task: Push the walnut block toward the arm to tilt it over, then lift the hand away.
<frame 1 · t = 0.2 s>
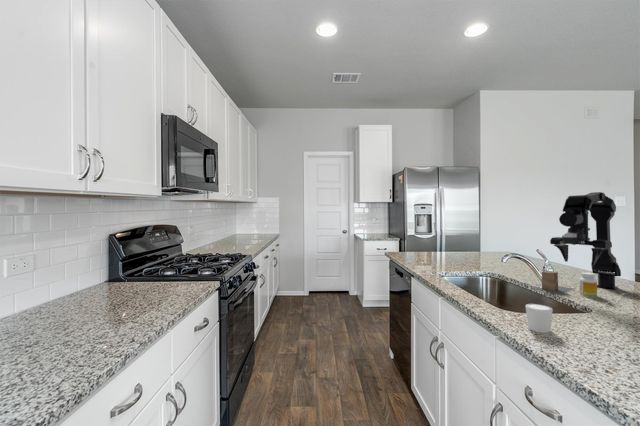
hand: (579, 263, 122), 14 cm above the table, fingers open, 9 cm apart
walnut block: (550, 289, 134), resting on rubber mat
white cup: (539, 329, 92), on the table
rubber mat: (552, 289, 136), on the table
supplement bottle: (588, 297, 124), on the table
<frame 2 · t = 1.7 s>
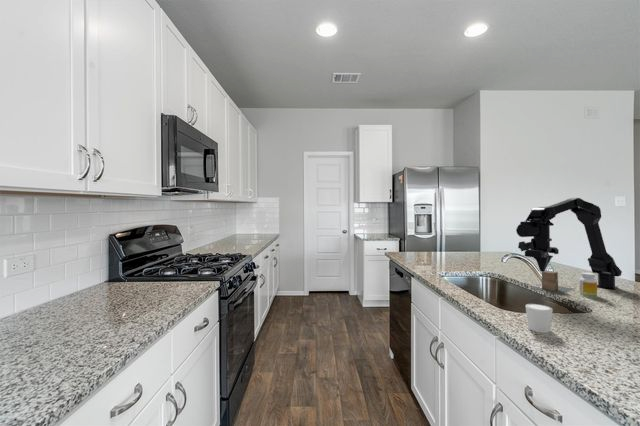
hand: (542, 271, 130), 10 cm above the table, fingers closed
nothing on the table moved.
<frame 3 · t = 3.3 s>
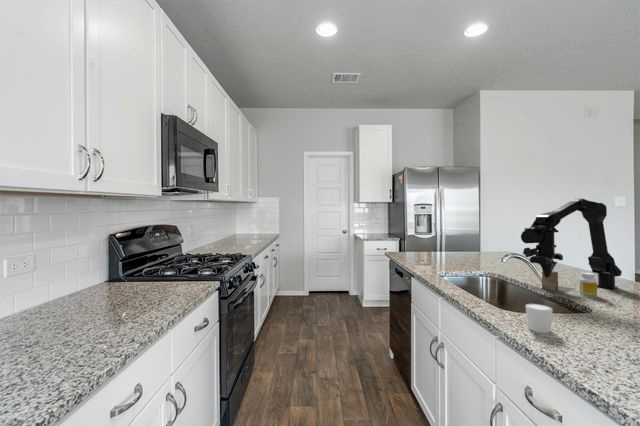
hand: (546, 277, 132), 6 cm above the table, fingers closed
walnut block: (550, 289, 134), resting on rubber mat, touching gripper
everything else where it was.
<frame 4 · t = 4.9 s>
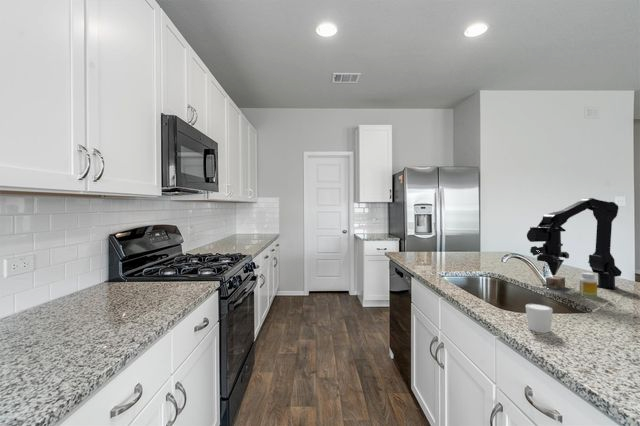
hand: (553, 275, 136), 6 cm above the table, fingers closed
walnut block: (552, 283, 135), point 3 cm above the table, tilted 90°, touching rubber mat
everything else where it was.
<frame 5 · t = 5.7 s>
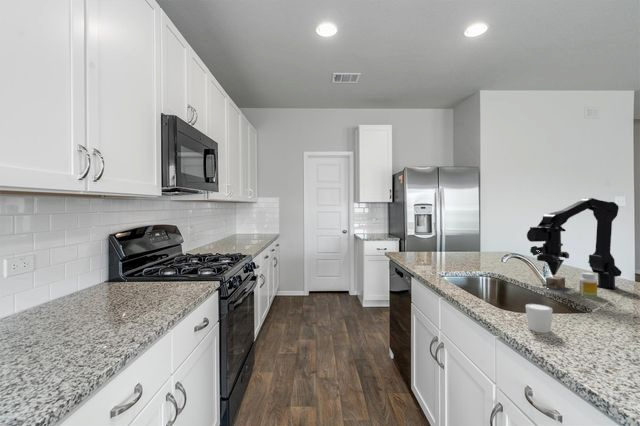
hand: (553, 274, 136), 7 cm above the table, fingers closed
nothing on the table moved.
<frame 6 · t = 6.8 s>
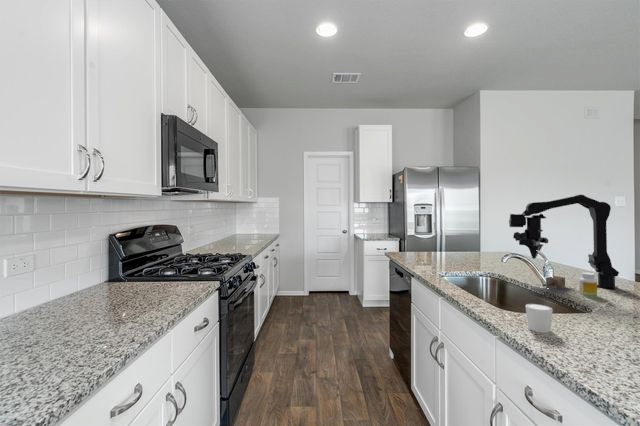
hand: (533, 258, 148), 12 cm above the table, fingers closed
nothing on the table moved.
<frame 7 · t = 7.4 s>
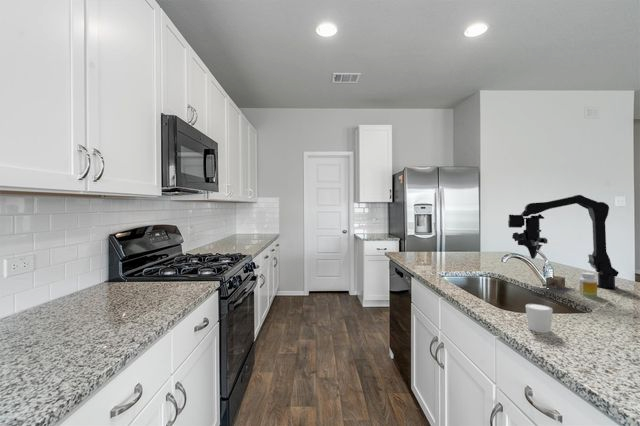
hand: (533, 258, 149), 12 cm above the table, fingers closed
nothing on the table moved.
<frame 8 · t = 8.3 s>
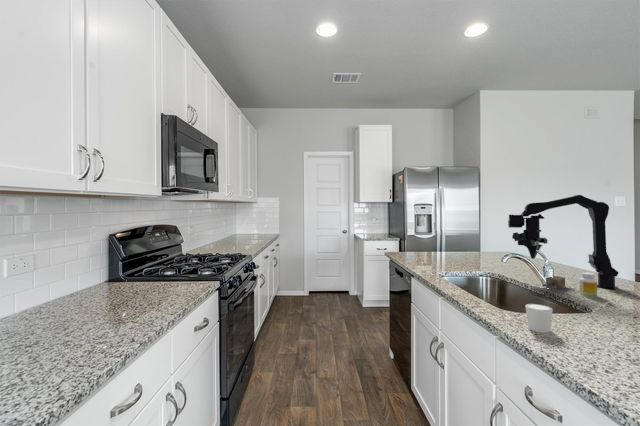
hand: (533, 258, 149), 12 cm above the table, fingers closed
nothing on the table moved.
at the end: walnut block tilted 90°; walnut block inside the target area (0.8 cm from its centre), point 2.6 cm above the table; walnut block touching rubber mat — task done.
